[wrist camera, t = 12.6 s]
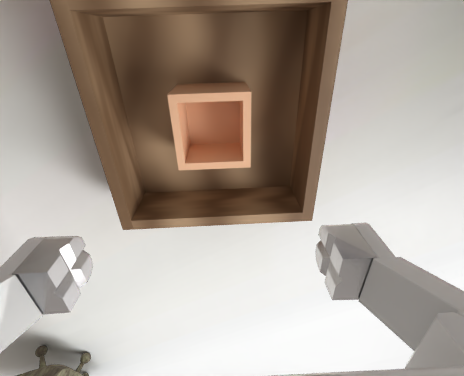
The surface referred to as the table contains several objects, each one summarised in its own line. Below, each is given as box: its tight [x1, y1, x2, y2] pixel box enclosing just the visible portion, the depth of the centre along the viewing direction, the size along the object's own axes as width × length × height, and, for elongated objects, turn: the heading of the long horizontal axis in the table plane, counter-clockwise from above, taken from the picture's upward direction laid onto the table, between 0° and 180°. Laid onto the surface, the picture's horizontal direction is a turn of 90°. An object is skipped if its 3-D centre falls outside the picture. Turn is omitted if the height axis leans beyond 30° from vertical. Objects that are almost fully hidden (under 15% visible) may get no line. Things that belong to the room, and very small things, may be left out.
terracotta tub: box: [167, 82, 251, 170], centre depth 22 cm, size 6×6×5 cm
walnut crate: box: [50, 0, 348, 230], centre depth 22 cm, size 18×18×6 cm
